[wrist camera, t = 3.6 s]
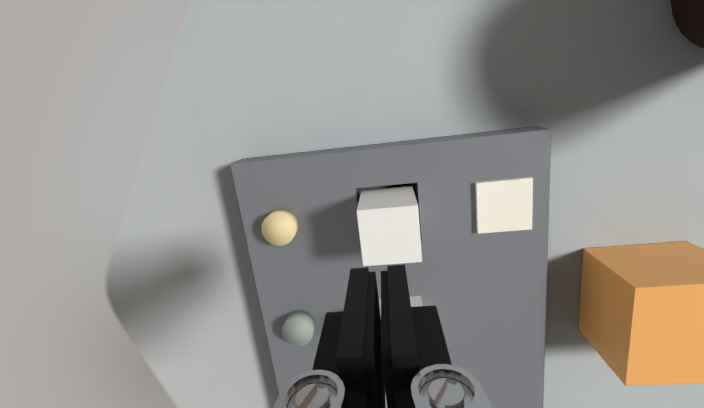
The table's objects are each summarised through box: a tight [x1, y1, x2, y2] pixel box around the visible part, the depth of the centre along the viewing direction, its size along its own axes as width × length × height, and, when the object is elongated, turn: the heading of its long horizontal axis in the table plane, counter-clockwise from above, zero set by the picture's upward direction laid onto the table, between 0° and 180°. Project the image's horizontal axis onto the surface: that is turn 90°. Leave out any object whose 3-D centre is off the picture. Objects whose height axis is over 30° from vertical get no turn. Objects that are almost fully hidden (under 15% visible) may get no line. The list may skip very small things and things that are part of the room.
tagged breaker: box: [357, 186, 422, 266], centre depth 20 cm, size 3×3×4 cm
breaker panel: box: [230, 126, 551, 408], centre depth 23 cm, size 18×22×6 cm
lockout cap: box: [579, 241, 704, 386], centre depth 21 cm, size 6×6×5 cm
